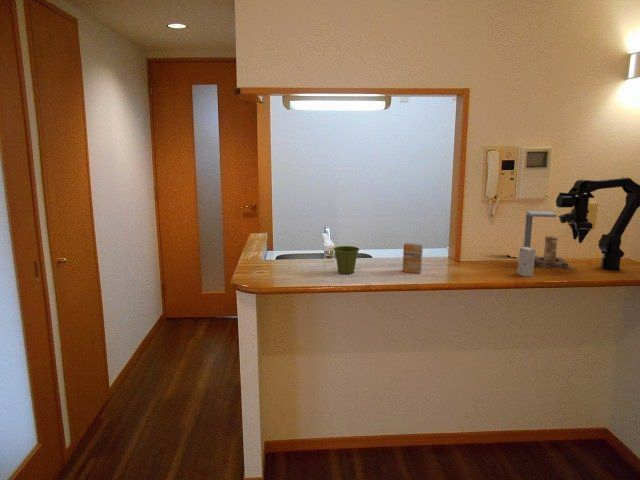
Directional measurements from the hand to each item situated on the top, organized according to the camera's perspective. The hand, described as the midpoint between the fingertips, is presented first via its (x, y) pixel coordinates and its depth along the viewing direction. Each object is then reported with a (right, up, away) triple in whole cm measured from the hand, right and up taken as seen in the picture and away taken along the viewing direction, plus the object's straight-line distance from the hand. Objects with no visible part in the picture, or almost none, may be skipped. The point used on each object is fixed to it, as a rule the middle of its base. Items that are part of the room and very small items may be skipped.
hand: (577, 241), depth 210 cm
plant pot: (-107, -15, -2) cm, 108 cm away
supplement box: (-77, -14, -2) cm, 78 cm away
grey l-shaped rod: (-14, -11, +11) cm, 21 cm away
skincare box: (-28, -15, -8) cm, 33 cm away
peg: (-8, -11, +10) cm, 17 cm away
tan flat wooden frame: (-8, -11, +10) cm, 17 cm away
